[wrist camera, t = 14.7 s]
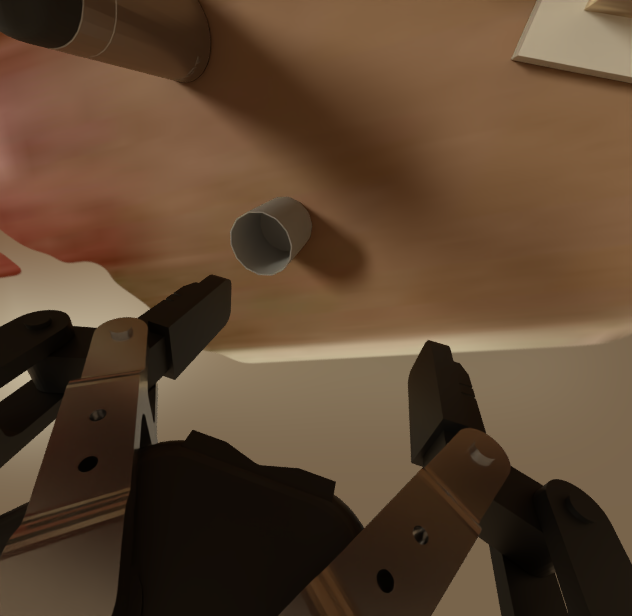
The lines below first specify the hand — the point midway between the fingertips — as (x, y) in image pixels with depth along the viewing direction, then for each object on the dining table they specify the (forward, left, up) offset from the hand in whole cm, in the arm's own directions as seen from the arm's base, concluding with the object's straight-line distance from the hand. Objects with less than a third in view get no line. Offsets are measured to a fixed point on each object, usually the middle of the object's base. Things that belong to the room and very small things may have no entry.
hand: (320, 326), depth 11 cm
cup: (-2, -14, -33) cm, 36 cm away
